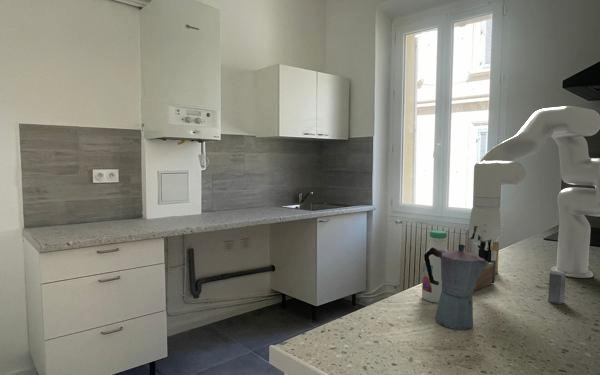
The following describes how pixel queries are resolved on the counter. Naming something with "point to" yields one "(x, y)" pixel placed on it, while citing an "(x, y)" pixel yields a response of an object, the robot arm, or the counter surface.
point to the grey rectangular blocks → (556, 287)
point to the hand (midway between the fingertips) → (484, 262)
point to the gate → (486, 276)
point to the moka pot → (456, 285)
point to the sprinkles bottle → (495, 253)
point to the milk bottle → (434, 268)
